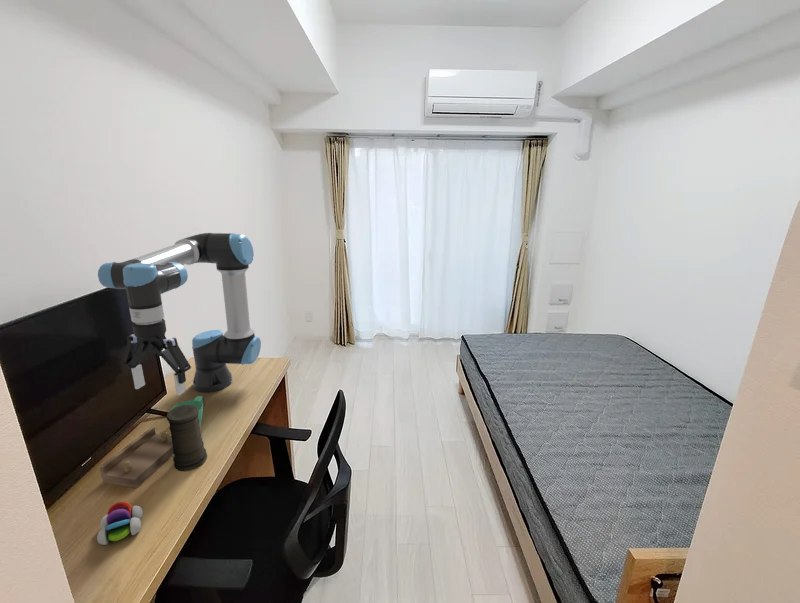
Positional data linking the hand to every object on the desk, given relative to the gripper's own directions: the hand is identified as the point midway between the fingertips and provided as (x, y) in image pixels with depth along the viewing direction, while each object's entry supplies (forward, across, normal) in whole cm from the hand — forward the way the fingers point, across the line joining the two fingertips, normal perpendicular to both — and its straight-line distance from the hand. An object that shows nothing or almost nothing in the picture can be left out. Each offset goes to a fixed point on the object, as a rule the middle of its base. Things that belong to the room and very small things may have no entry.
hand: (160, 389), depth 109 cm
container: (+26, +4, +2) cm, 27 cm away
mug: (+26, -6, +17) cm, 32 cm away
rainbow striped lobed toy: (+26, +5, -23) cm, 35 cm away
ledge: (+26, -9, -1) cm, 27 cm away
